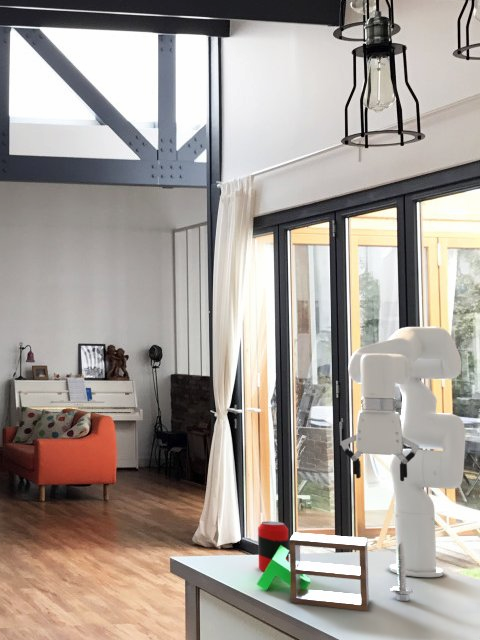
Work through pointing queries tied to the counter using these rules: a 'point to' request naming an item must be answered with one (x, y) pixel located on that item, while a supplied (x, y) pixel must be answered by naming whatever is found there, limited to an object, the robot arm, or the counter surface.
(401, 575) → the screw
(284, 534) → the soda can
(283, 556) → the bracket
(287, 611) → the counter surface
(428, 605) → the counter surface
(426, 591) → the counter surface
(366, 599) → the shelf
